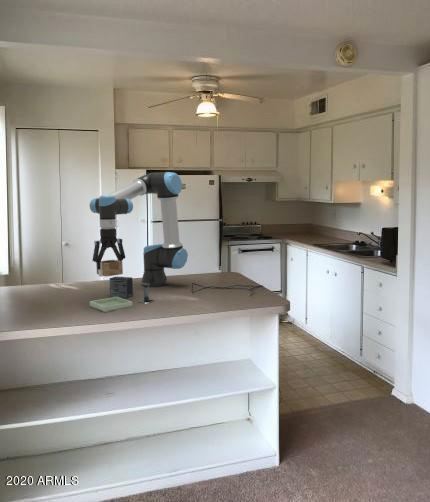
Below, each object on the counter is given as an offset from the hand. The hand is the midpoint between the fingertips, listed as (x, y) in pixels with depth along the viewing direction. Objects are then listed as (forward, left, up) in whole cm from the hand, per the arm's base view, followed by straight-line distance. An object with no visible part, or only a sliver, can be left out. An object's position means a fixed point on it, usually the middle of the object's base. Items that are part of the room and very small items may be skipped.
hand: (109, 274), depth 246 cm
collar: (0, 0, 0) cm, 0 cm away
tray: (0, 0, -16) cm, 16 cm away
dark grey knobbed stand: (+5, +17, -16) cm, 24 cm away
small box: (-14, +14, -16) cm, 25 cm away
